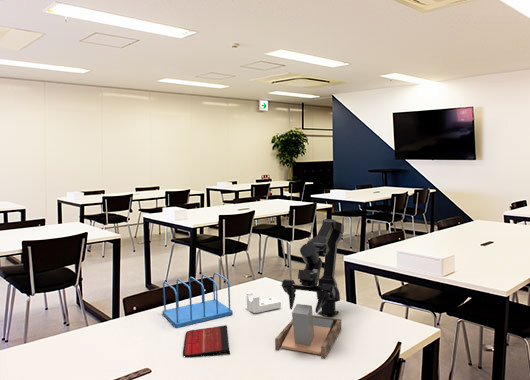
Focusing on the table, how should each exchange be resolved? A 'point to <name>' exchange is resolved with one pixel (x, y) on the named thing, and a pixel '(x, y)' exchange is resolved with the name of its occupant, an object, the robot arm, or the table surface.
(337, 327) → the flap frame
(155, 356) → the table surface
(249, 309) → the bracket
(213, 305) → the file sorter
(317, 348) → the flap
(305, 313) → the stone block
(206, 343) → the binder
